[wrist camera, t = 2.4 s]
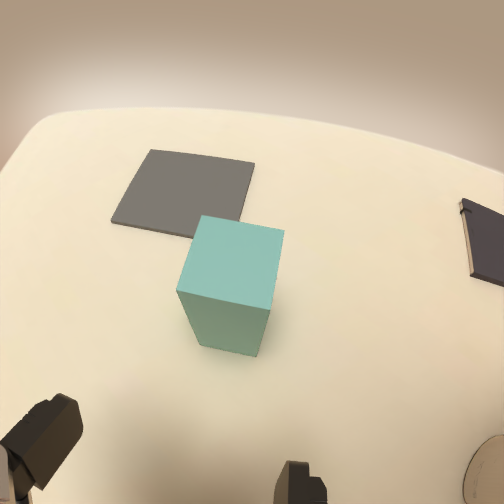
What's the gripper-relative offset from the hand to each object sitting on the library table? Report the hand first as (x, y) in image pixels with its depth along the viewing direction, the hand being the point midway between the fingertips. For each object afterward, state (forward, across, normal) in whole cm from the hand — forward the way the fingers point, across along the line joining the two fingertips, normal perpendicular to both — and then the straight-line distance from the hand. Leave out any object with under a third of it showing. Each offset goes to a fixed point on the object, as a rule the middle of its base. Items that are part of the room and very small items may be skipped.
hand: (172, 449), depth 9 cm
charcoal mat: (+28, +9, -6) cm, 30 cm away
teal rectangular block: (+18, 0, +4) cm, 18 cm away
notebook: (+30, -38, -7) cm, 49 cm away
